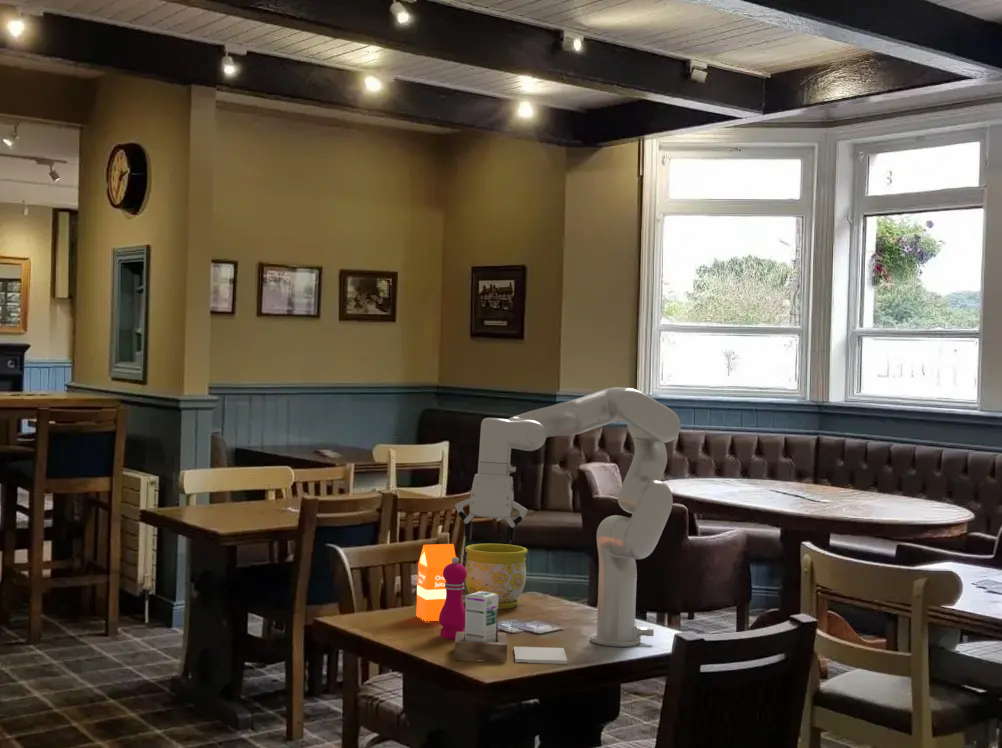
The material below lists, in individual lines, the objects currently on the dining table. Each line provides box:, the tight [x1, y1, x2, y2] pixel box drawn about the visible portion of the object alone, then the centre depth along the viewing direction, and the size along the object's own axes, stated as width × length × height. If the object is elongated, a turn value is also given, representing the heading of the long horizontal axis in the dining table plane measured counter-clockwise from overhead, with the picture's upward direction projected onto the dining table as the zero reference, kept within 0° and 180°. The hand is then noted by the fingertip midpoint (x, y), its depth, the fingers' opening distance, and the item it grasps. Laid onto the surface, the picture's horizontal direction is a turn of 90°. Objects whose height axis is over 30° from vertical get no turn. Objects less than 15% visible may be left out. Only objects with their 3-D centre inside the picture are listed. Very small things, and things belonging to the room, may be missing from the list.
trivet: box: [513, 646, 568, 665], centre depth 265 cm, size 12×12×1 cm
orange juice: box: [415, 543, 457, 623], centre depth 304 cm, size 8×9×20 cm
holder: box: [454, 631, 508, 662], centre depth 265 cm, size 12×12×4 cm
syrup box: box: [464, 591, 499, 642], centre depth 265 cm, size 6×6×14 cm
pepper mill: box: [438, 556, 467, 640], centre depth 283 cm, size 7×7×20 cm
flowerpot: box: [464, 543, 528, 610], centre depth 325 cm, size 18×18×16 cm
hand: (488, 541), depth 268 cm, fingers open, 9 cm apart
